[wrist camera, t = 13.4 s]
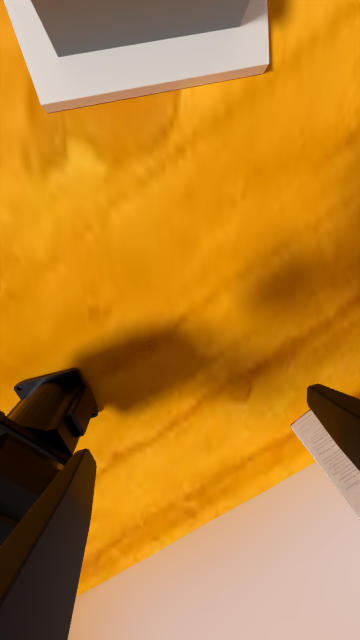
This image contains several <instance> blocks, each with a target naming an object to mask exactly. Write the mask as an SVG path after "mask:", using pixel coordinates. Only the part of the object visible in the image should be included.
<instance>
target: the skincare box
mask: <svg viewBox="0 0 360 640" xmlns="http://www.w3.org/2000/svg"><path fill="white" fill-rule="evenodd" d="M291 428H292V430H293V431H294V432H295V434H296V435H297V437H298V438H299V439H300V441H301V442H302V443H303V444H304V446H305V447H306V449H307V450H308V451H309V453H310V454H311V455H312V457H313V458H314V459H315V461H316V462H317V463H318V465H319V466H320V467H321V468H322V470H323V471H324V473H325V474H326V475H327V477H328V478H329V479H330V481H331V482H332V483H333V485H334V486H335V487H336V489H337V490H338V491H339V493H340V494H341V495H342V497H343V498H344V500H345V501H346V502H347V504H348V505H349V506H350V508H351V509H352V510H353V511H354V513H355V514H356V516H357V517H358V518H359V519H360V471H359V470H358V469H357V468H356V467H355V465H354V464H353V463H352V462H351V461H350V460H349V458H348V457H347V456H346V455H345V454H344V453H343V452H342V450H341V449H340V448H339V447H338V446H337V444H336V443H335V442H334V440H333V439H332V438H331V436H330V435H329V434H328V432H327V431H326V430H325V428H324V427H323V425H322V424H321V423H320V421H319V420H318V419H317V417H316V416H315V415H314V413H313V412H312V410H310V411H309V412H307V413H306V414H304V415H303V416H302V417H300V418H299V419H298V420H296V421H295V422H294V423H293V424H292V425H291Z"/></svg>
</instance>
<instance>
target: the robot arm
mask: <svg viewBox="0 0 360 640" xmlns="http://www.w3.org/2000/svg"><path fill="white" fill-rule="evenodd" d="M73 373H75V374H76V375H74V374H73ZM20 387H21V388H20ZM14 390H15V392H16V393H17V395H18V396H19V398H20V399H21V400H20V401H19V402H18V403H17V405H16V406H15V407H14V408H13V409H12V410H11V411H10V412H9V414H8V415H7V416H5V413H3V412H2V411H0V640H67V639H68V634H69V628H70V624H71V619H72V613H73V609H74V603H75V598H76V593H77V588H78V583H79V578H80V573H81V568H82V562H83V557H84V552H85V547H86V542H87V537H88V532H89V526H90V520H91V513H92V505H93V495H94V486H95V477H96V462H95V460H94V458H93V456H92V454H91V453H90V451H89V449H83V450H79V451H77V452H75V453H74V450H75V448H76V445H77V443H78V440H79V438H80V437H81V436H83V435H84V434H85V432H86V429H87V426H88V423H89V421H90V418H93V417H96V416H97V415H98V412H99V410H98V408H97V406H96V401H95V399H94V397H93V395H92V393H91V391H90V389H89V387H88V386H87V385H86V383H85V381H84V379H83V377H82V375H81V373H80V371H79V370H78V369H70V370H66V371H62V372H58V373H54V374H50V375H47V376H43V377H39V378H35V379H31V380H27V381H23V382H20V383H18V384H17V385H16V386H15V387H14ZM307 404H308V406H309V408H310V409H311V410H312V412H313V413H314V415H315V416H316V417H317V419H318V420H319V421H320V423H321V424H322V425H323V427H324V428H325V430H326V431H327V432H328V434H329V435H330V436H331V438H332V439H333V440H334V442H335V443H336V444H337V446H338V447H339V448H340V449H341V450H342V452H343V453H344V454H345V455H346V456H347V457H348V458H349V460H350V461H351V462H352V463H353V464H354V465H355V467H356V468H357V469H358V470H359V471H360V399H357V398H355V397H352V396H350V395H347V394H344V393H342V392H339V391H337V390H334V389H331V388H329V387H326V386H324V385H321V384H314V385H311V386H308V388H307ZM93 412H95V413H93ZM73 453H74V454H73Z"/></svg>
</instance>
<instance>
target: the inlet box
mask: <svg viewBox="0 0 360 640" xmlns="http://www.w3.org/2000/svg"><path fill="white" fill-rule="evenodd" d="M4 3H5V5H6V8H7V11H8V14H9V17H10V19H11V22H12V25H13V28H14V31H15V33H16V36H17V39H18V42H19V45H20V47H21V50H22V53H23V56H24V59H25V61H26V64H27V67H28V70H29V73H30V75H31V78H32V81H33V84H34V86H35V89H36V92H37V95H38V98H39V100H40V103H41V105H42V107H43V108H44V109H45V111H46V112H47V113H51V112H57V111H62V110H67V109H73V108H78V107H84V106H89V105H95V104H100V103H106V102H111V101H116V100H122V99H127V98H133V97H138V96H144V95H149V94H155V93H160V92H165V91H171V90H176V89H182V88H187V87H193V86H198V85H204V84H209V83H215V82H220V81H225V80H231V79H236V78H242V77H247V76H253V75H258V74H263V73H264V71H265V70H266V68H267V67H268V65H269V38H268V4H267V0H4Z"/></svg>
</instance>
